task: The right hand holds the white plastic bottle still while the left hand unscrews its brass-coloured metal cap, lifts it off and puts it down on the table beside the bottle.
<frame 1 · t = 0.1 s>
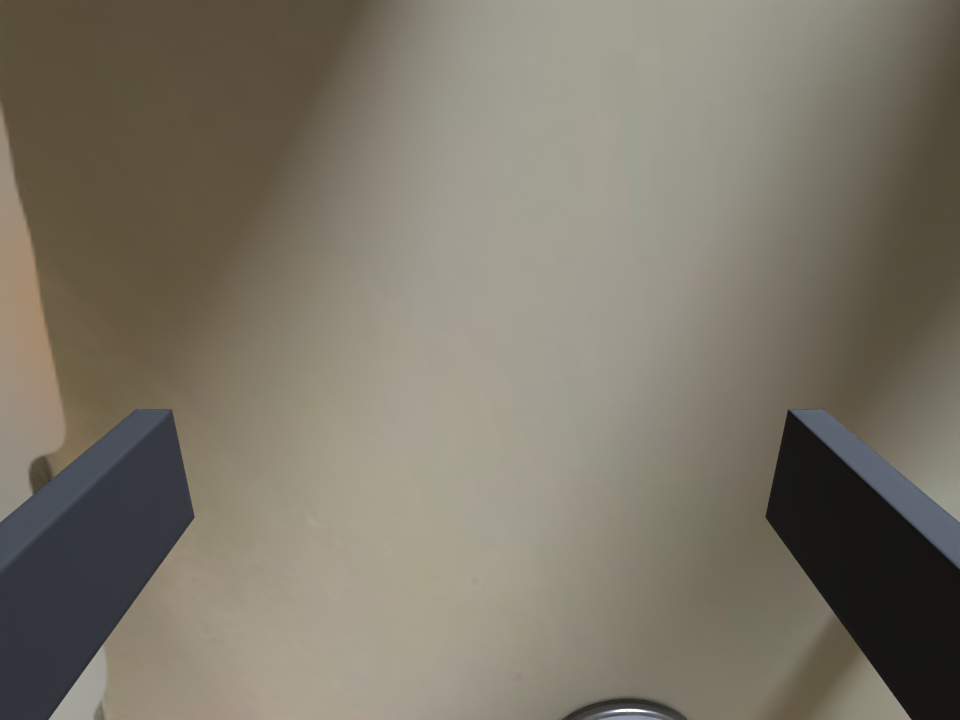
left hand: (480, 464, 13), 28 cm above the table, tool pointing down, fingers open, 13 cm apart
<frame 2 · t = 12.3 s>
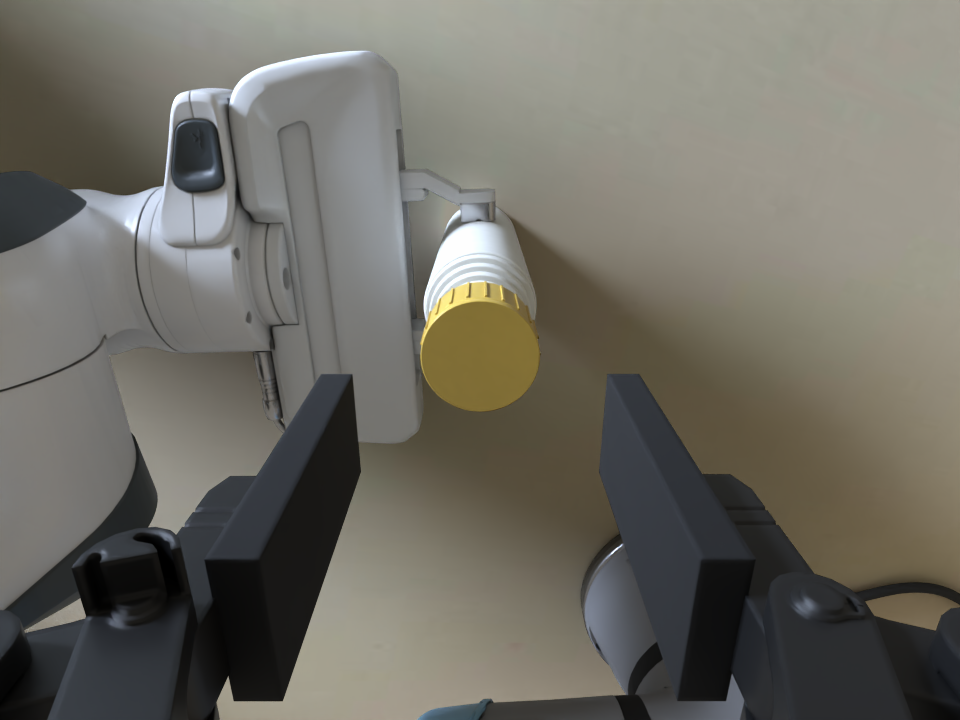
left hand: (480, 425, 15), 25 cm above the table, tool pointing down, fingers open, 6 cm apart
right hand: (497, 260, 32), fingers closed on bottle, 4 cm apart
bottle: (480, 240, 38), on the table, touching right hand
cap: (480, 355, 19), point 20 cm above the table, screwed on, not yet turned
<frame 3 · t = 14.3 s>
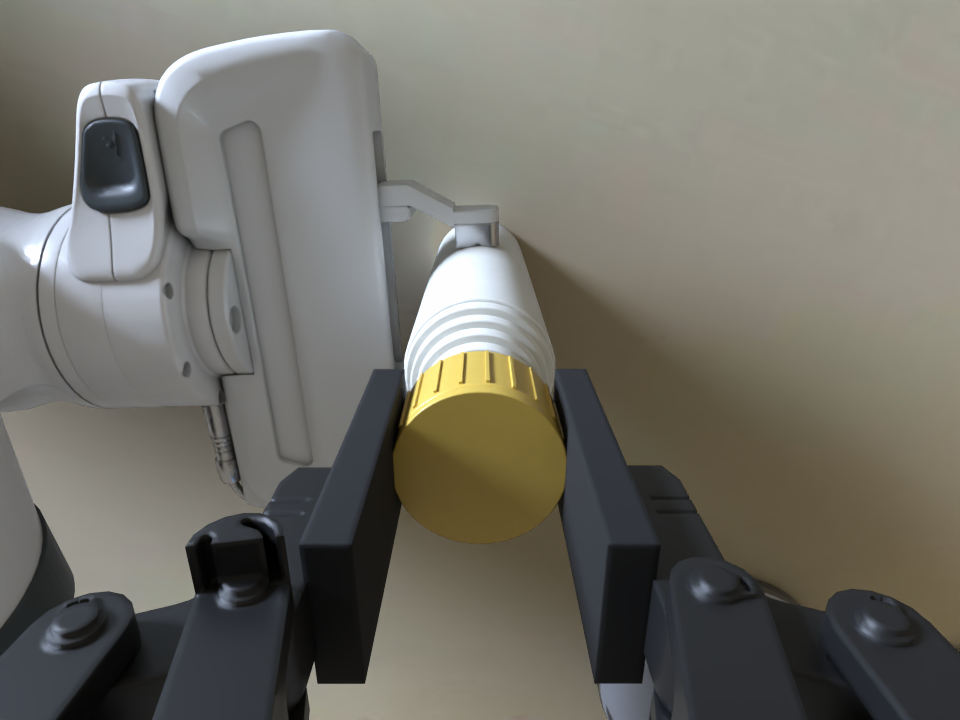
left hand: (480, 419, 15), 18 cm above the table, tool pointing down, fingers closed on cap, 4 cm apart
right hand: (500, 293, 26), fingers closed on bottle, 4 cm apart
bottle: (479, 263, 32), on the table, touching right hand
cap: (479, 464, 13), point 20 cm above the table, screwed on, not yet turned, touching left hand
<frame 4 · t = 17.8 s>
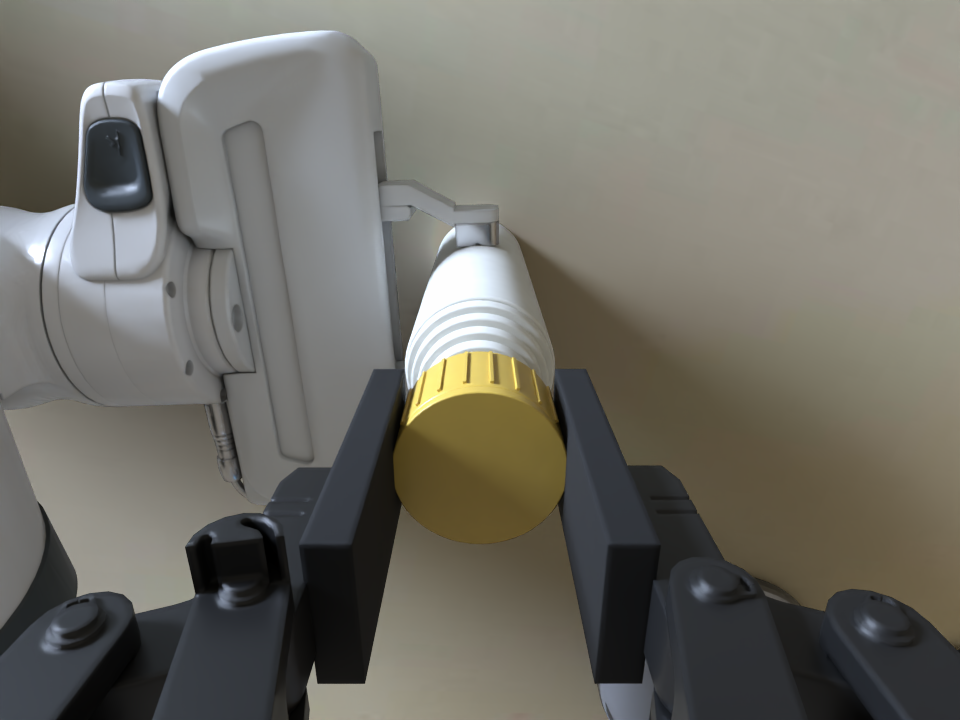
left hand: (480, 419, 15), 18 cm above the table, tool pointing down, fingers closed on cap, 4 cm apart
right hand: (500, 292, 26), fingers closed on bottle, 4 cm apart
bottle: (479, 262, 32), on the table, touching right hand
cap: (479, 464, 13), point 20 cm above the table, turned 135° so far, risen 0.2 cm, still on its thread, touching left hand
when the left hand's fingers open (1 cm above the table, at t = 31.6 s): cap stays where it is, point 2 cm above the table.
when the right hand's fingers open (6 cm above the table, at t = 32.9 s): bottle stays where it is, on the table.
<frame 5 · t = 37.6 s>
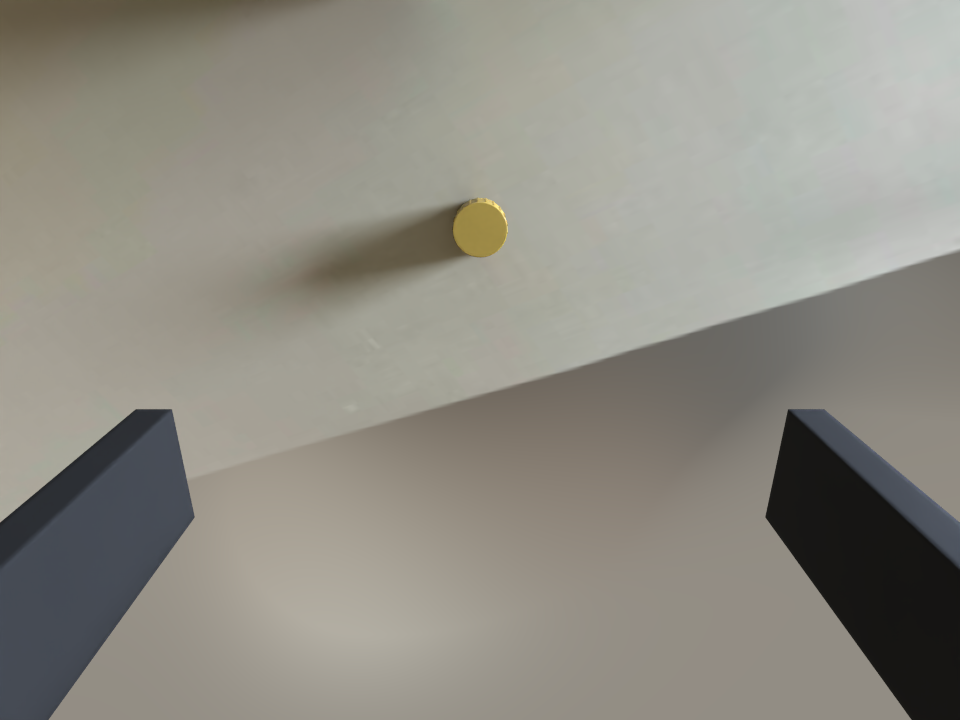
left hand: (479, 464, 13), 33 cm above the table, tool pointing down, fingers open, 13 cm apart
cap: (480, 229, 42), point 2 cm above the table, off its thread
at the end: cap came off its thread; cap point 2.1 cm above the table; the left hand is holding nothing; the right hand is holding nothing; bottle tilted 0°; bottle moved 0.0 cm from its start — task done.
